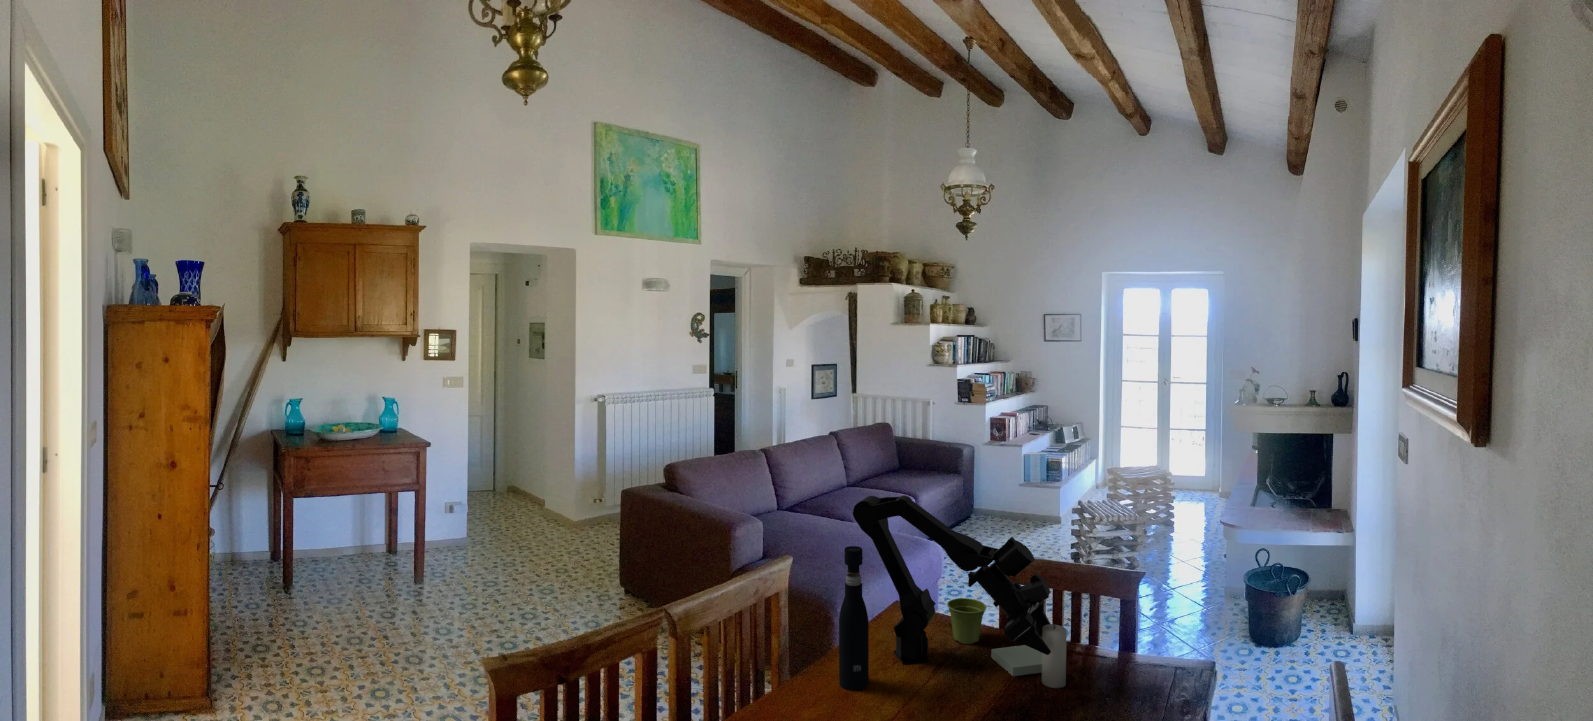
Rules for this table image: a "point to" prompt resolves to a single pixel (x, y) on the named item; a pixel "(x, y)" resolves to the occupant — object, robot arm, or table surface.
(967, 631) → the plant pot
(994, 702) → the table surface
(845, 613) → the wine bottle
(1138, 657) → the table surface
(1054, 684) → the candle
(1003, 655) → the stand
